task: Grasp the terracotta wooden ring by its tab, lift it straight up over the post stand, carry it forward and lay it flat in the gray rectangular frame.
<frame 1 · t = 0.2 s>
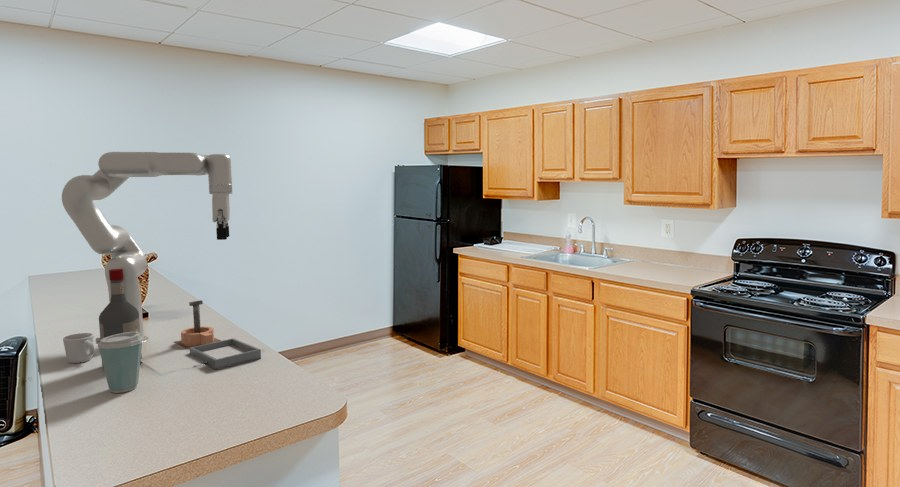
hand: (223, 238, 192), 37 cm above the counter, tool pointing down, fingers open, 9 cm apart
post stand: (198, 344, 189), on the counter
gray rectangular frame: (225, 357, 175), on the counter
liquor: (122, 366, 167), on the counter
ring: (198, 341, 188), point 1 cm above the counter, touching post stand
disposable coffee cup: (123, 389, 148), on the counter
cup: (83, 362, 171), on the counter
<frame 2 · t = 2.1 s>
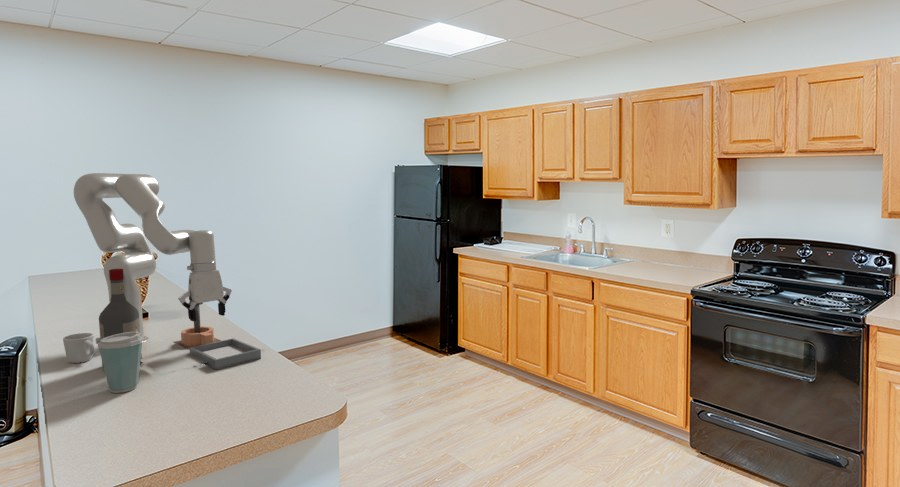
hand: (207, 317, 182), 11 cm above the counter, tool pointing down, fingers open, 9 cm apart
nothing on the counter moved.
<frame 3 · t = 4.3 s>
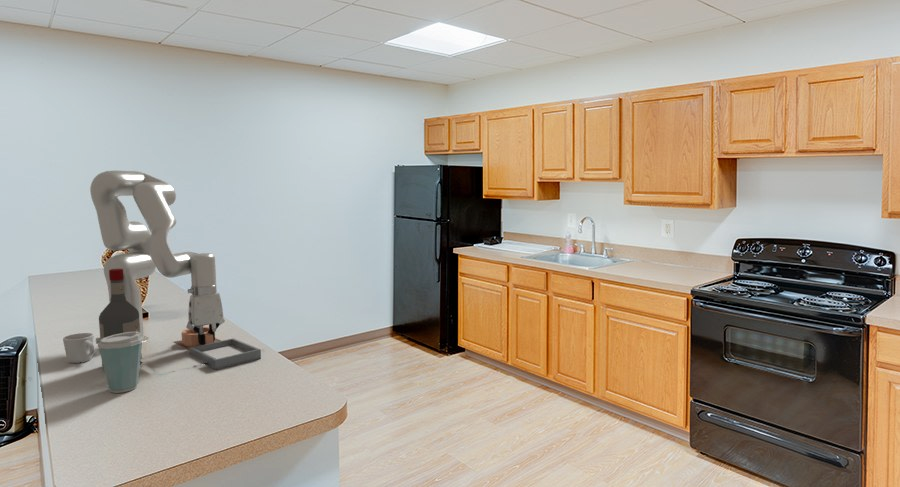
hand: (206, 343, 184), 2 cm above the counter, tool pointing down, fingers closed on ring, 2 cm apart
ring: (198, 341, 188), point 1 cm above the counter, touching gripper, post stand
everything else where it was.
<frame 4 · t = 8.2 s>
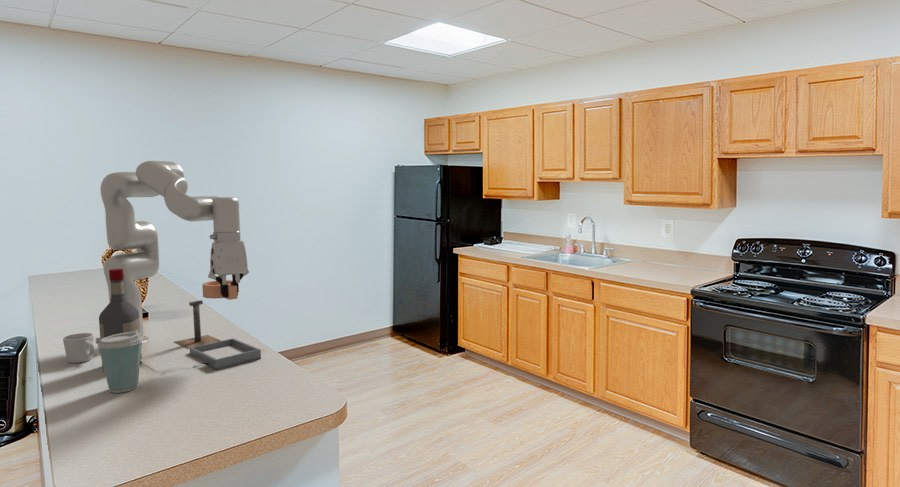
hand: (230, 295, 169), 21 cm above the counter, tool pointing down, fingers closed on ring
ring: (220, 295, 174), point 20 cm above the counter, touching gripper
everything else where it was.
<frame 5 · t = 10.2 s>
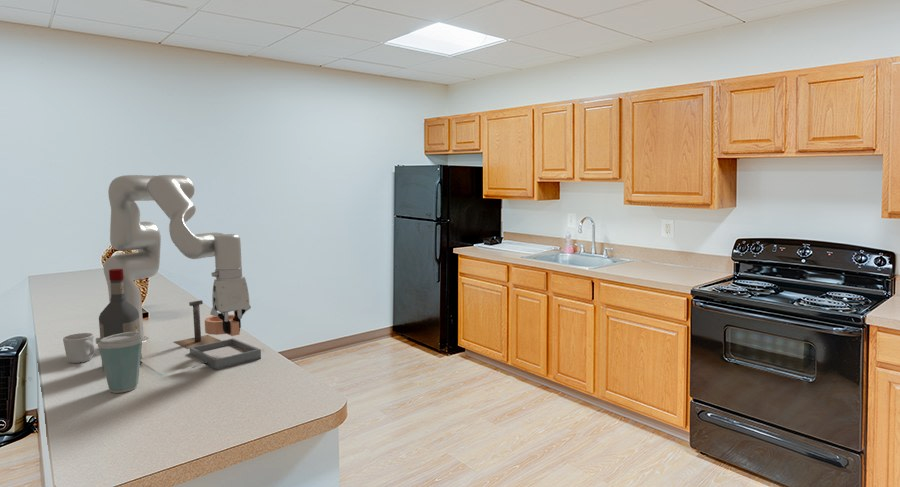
hand: (232, 331, 170), 10 cm above the counter, tool pointing down, fingers closed on ring
ring: (222, 330, 175), point 9 cm above the counter, touching gripper
everything else where it was.
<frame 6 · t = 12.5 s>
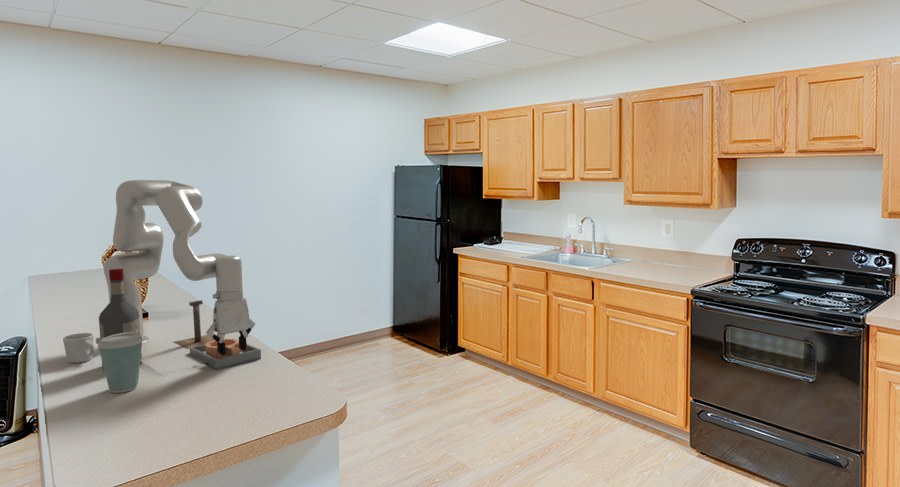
hand: (232, 351, 171), 3 cm above the counter, tool pointing down, fingers open, 6 cm apart
ring: (223, 355, 176), point 1 cm above the counter, touching gray rectangular frame
everything else where it was.
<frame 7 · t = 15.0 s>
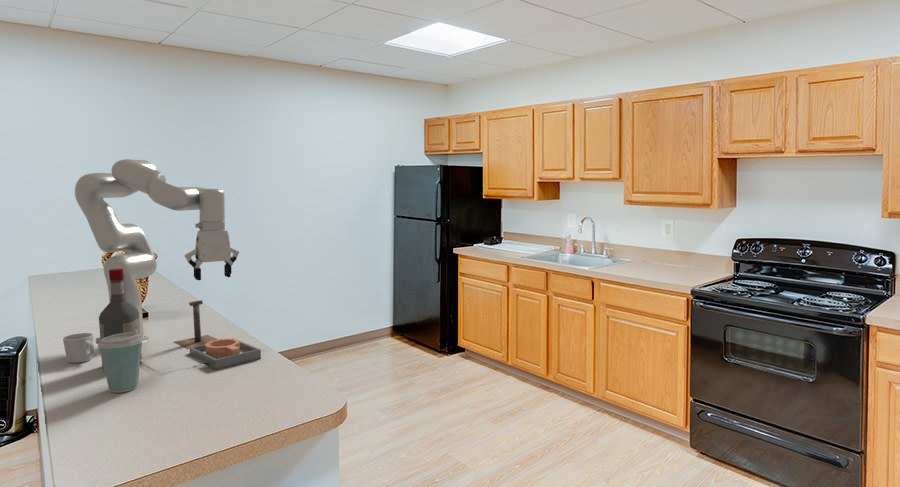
hand: (213, 278, 179), 25 cm above the counter, tool pointing down, fingers open, 9 cm apart
nothing on the counter moved.
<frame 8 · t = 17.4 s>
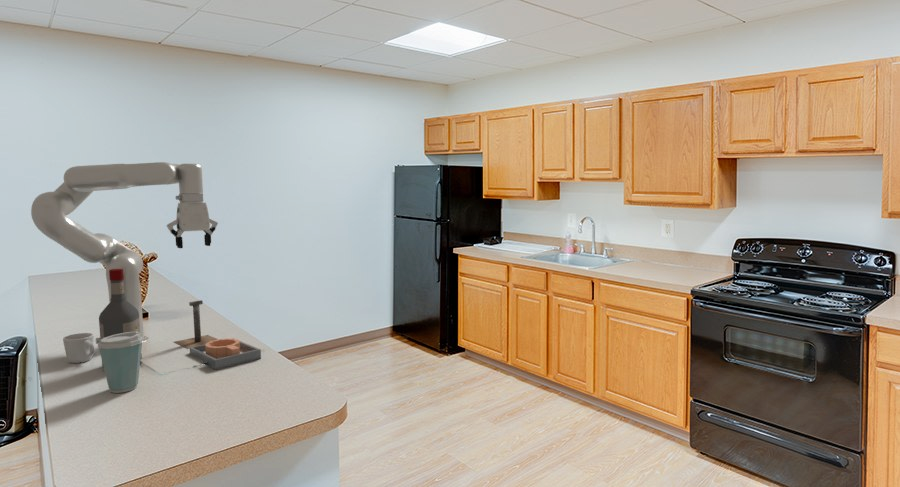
hand: (194, 246, 194), 33 cm above the counter, tool pointing down, fingers open, 9 cm apart
nothing on the counter moved.
at the end: ring inside the target area on the gray rectangular frame (0.7 cm from its centre), point 0.6 cm above the gray rectangular frame's base; ring tilted 0°; the gripper is holding nothing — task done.
